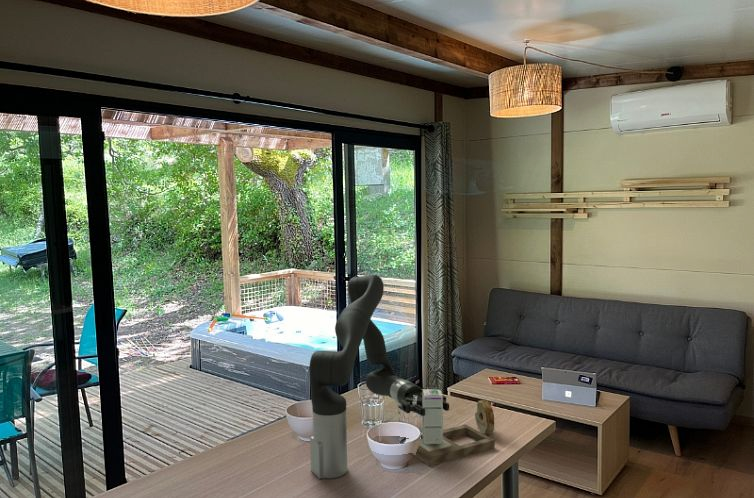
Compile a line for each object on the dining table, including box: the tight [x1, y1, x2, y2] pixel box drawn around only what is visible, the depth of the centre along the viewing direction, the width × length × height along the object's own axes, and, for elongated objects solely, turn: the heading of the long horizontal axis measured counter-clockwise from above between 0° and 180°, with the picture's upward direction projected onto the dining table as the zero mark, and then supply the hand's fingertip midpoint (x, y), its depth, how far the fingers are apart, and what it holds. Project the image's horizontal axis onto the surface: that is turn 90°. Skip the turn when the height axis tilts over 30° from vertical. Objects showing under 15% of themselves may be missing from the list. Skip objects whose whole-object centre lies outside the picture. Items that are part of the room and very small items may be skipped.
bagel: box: [474, 399, 495, 435], centre depth 181 cm, size 10×4×10 cm, turn 9°
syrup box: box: [421, 388, 444, 444], centre depth 166 cm, size 6×6×14 cm
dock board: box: [414, 424, 496, 467], centre depth 169 cm, size 24×14×3 cm, turn 119°
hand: (436, 410), depth 164 cm, fingers open, 8 cm apart
